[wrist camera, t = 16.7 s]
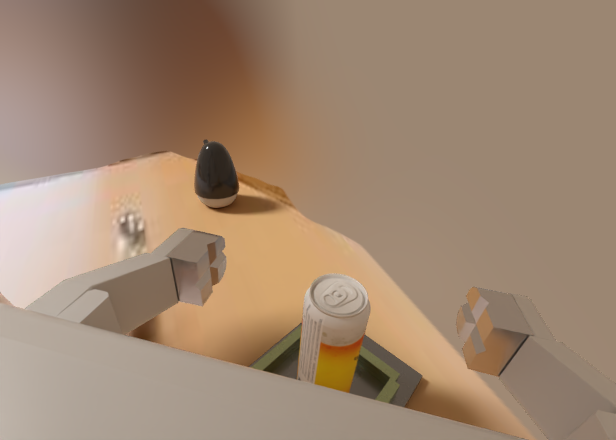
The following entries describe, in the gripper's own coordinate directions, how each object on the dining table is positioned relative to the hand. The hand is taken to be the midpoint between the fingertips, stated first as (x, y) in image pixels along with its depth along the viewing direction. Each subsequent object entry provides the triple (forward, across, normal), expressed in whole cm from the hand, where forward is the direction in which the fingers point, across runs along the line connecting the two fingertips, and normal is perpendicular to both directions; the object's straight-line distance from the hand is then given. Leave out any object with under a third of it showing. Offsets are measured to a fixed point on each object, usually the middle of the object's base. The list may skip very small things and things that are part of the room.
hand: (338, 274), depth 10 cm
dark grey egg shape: (+52, +32, +29) cm, 67 cm away
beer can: (+12, -1, +28) cm, 30 cm away
